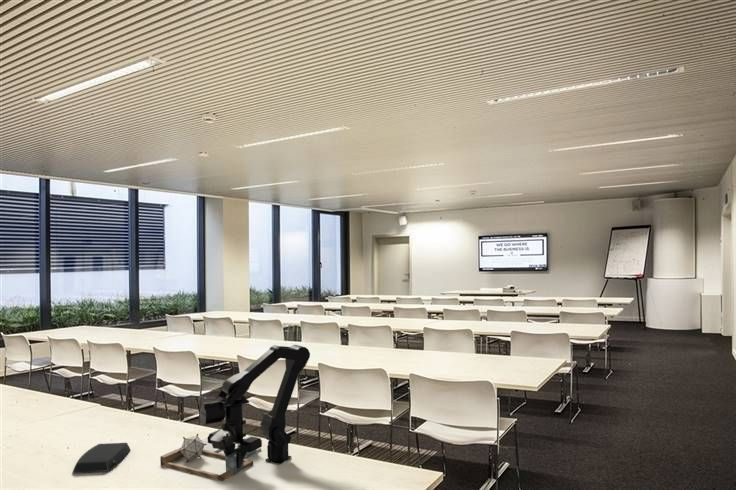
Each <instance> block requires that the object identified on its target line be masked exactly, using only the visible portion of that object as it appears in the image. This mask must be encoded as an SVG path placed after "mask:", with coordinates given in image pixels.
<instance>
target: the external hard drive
mask: <svg viewBox="0 0 736 490" xmlns="http://www.w3.org/2000/svg"><path fill="white" fill-rule="evenodd" d="M130 452H131V448H130V445H129V444H128V442H116V443H115V442H113V443H98V444H96V445H94V446H92V447H91V448H90V449H89V448H88V450H86V451H85V452H84V453H83V454H82V455H81V456H80V457H79V458H78V460H77V461H76V463H75V465H74V468H73V470H72V473H71V474H72V475H84V474H85V475H86V474H103V473H109V472H110V473H111V471H112V470H114V469H115V468H117V466H119V465H120V464H121V463H122V462H123V461H124V460H125V459H126V457H127V456H128V455H129V453H130Z"/></svg>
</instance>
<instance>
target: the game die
mask: <svg viewBox="0 0 736 490" xmlns="http://www.w3.org/2000/svg"><path fill="white" fill-rule="evenodd" d="M182 438H183V442H182V445H181V447H180V448H181V450H179V451H178V452H180V451H181V453H182V454H183V455H184V456H185V457H184V459H186V463H188V462H189V460H193V459H197V458H199V459H201V460H202V458H203V457H202V456H201V455H202V454H201V453H202V451H203V448H204V445H207V444H204V443H203V442H202V441H201V440H202V439H201V438H200V437H199V433H196V435H194V436H190V437H186V438H185V436H183V437H182Z"/></svg>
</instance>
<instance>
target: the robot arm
mask: <svg viewBox="0 0 736 490" xmlns="http://www.w3.org/2000/svg"><path fill="white" fill-rule="evenodd" d="M310 357H311V352H310V350H309V349H308V347H305V346H302V345H298V344H292V345H291V346H286V345H285V346H283V345H281V346H279V345H276V344H274V345H271V347H269V349H268V350H266V352H264V353H263V354H262V355H261V356H260V357H259V358H257V359H256V360H255V361H254V362H253V363H251V364H250V365H249V366H248V367H246V369H244V370H242V371H241V372H238V373H236V374H233V375H232V376H230V377H229V378H227V379H225V380H224V381H223V383H222V386H221V390H220V391H219V393H218V394H217V396H216V397H215V399H214V401H208V402H207V401H205V402H202V403H201V408H200V412H199V419H200V423H201V426H209V425H212V424H218V423H221V424H222V425H221V429H217V430H215V431H213V432H211V433H209V434H208V436H207V437H208V443H210V444H212V446H213V448H214V449H215V448H216V449H219V450H222V452H224V454H225V456H228V455H230V454H232V453H234V452H235V453H236V462H237V468H238V469H239V468H240V467H241V465H242V462H243V460H244V458H245V455H246V453H247V452H252V451H254V450H256V449H258V448H262V447H263V440H262V439H261V437H256V436H252V437H249V436H248V437H249V438H247V439H244V438H246V437H247V433H246V432H244V425H246V424H247V421H246V420H245V419H244V405H246V404H249V403H250V400H248V399H247V398H246V397H245V394H246V393H247V392H248V391H249V389H250V387H251V385H252V384H253V382H254V381H256V379H258V378H259V377H260V376H261V375H262V374H264V373H265V371H267V370H268V369H270V367H271V366H273V365H274V364H275V363H276V362H277V361H278V360H279V359H284V361H285V372H284V374H283V377H282V379H281V382H280V386H279V388H278V391H277V394H276V397H275V400H274V403H273V405H272V408H271V410H270V411H268V413H265V412H264V413H263V415H262V420H261V421H260V423H259V425H260V431H261V434H262V435H263V436H265V439H266V440H267V445H266V446H267V451H266V452H267V458H265V462H267V463H272V464H276V465H281V464H282V465H283V463H284V462H287V461H288V460H290V459H292V455H289V444H290V443H291V440H292V436H291V435H290V434H289V433H287V431H285V430H286V427H287V426H286V425H287V423H286V422H287V419H286V413H287V410H288V407H289V404H290V402H291V400H292V399H291V398H292V396H293V393H294V389H295V387H296V383H297V381H298V377H299V375H300V373H301V372H302V371H303V369H305V367H306V366H307V365H308V364H307V363H308V362H309V360H310ZM223 421H224V422H223ZM236 445H238V446H237V448H236V449H235V446H236Z"/></svg>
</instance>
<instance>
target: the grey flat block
mask: <svg viewBox="0 0 736 490" xmlns="http://www.w3.org/2000/svg"><path fill="white" fill-rule="evenodd" d="M249 437H253V435H248V436H245V437H243V439H247V438H249ZM200 440H201V441H202V442H203V443H204V444H207V445H204V448H203V450H207V451H211V452H216V453H219V452H220V454H224V451H223V450H219V449H216V448H215V449H214V448H213V446H212V444H210V443H208V436H207V437H206V438H205V437H204V438H203V439H200ZM237 446H238V444H236V445H235V449H236V448H237ZM261 451H262V447H260V448H258V449H256V450H254V451H252V452H247V453H246V455H245V458H244V459H247V458H249V457H251V456H253V455H256V454H257V453H259V452H261ZM224 455H225V454H224Z"/></svg>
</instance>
